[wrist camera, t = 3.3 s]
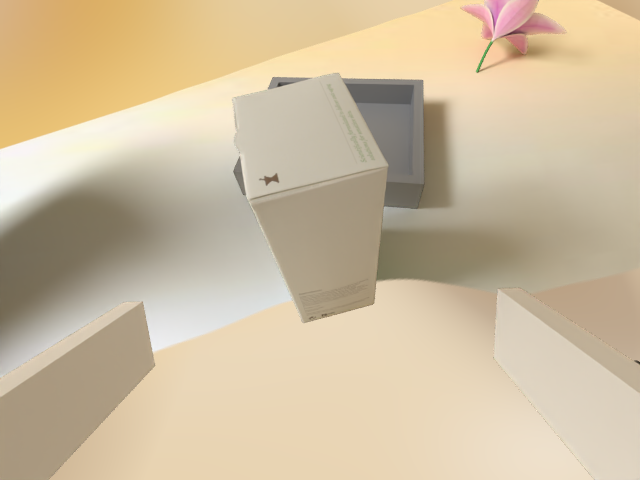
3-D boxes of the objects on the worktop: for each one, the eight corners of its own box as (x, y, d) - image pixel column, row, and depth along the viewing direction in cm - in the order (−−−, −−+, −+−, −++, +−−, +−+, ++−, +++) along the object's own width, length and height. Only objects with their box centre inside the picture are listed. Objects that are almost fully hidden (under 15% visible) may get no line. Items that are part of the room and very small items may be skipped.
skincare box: (374, 306, 26) (400, 171, 13) (296, 327, 26) (241, 208, 13) (346, 226, 31) (344, 65, 18) (279, 242, 30) (226, 90, 17)
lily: (548, 89, 41) (597, -2, 36) (482, 72, 36) (528, -35, 31) (481, 73, 50) (513, -1, 45) (422, 58, 45) (450, -27, 40)
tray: (243, 194, 34) (233, 171, 31) (278, 102, 42) (272, 77, 39) (417, 208, 31) (424, 184, 28) (417, 107, 39) (423, 79, 36)
